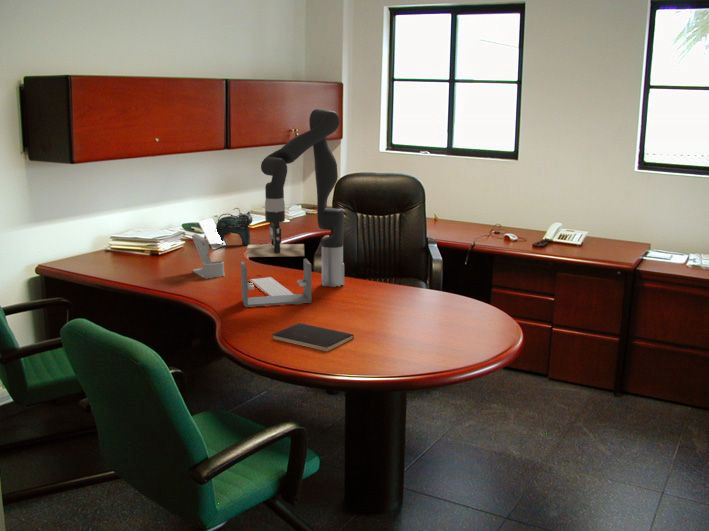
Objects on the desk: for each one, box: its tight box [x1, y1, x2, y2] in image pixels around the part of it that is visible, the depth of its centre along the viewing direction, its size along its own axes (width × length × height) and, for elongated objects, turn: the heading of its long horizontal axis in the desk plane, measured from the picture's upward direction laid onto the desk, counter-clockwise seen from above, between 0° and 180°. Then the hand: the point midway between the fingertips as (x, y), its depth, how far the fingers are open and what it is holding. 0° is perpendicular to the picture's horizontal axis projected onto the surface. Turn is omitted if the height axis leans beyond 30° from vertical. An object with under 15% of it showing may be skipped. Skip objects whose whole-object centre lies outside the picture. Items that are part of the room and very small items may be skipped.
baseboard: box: [247, 274, 295, 296], centre depth 327 cm, size 31×3×12 cm
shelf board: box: [246, 243, 305, 258], centre depth 303 cm, size 22×6×4 cm, turn 94°
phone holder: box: [191, 233, 226, 280], centre depth 350 cm, size 17×10×18 cm, turn 31°
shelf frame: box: [240, 258, 313, 308], centre depth 306 cm, size 26×10×16 cm, turn 104°
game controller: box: [215, 207, 253, 247], centre depth 412 cm, size 20×6×20 cm, turn 79°
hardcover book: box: [271, 322, 354, 352], centre depth 265 cm, size 16×23×2 cm
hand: (275, 251), depth 303 cm, fingers closed on shelf board, 6 cm apart
